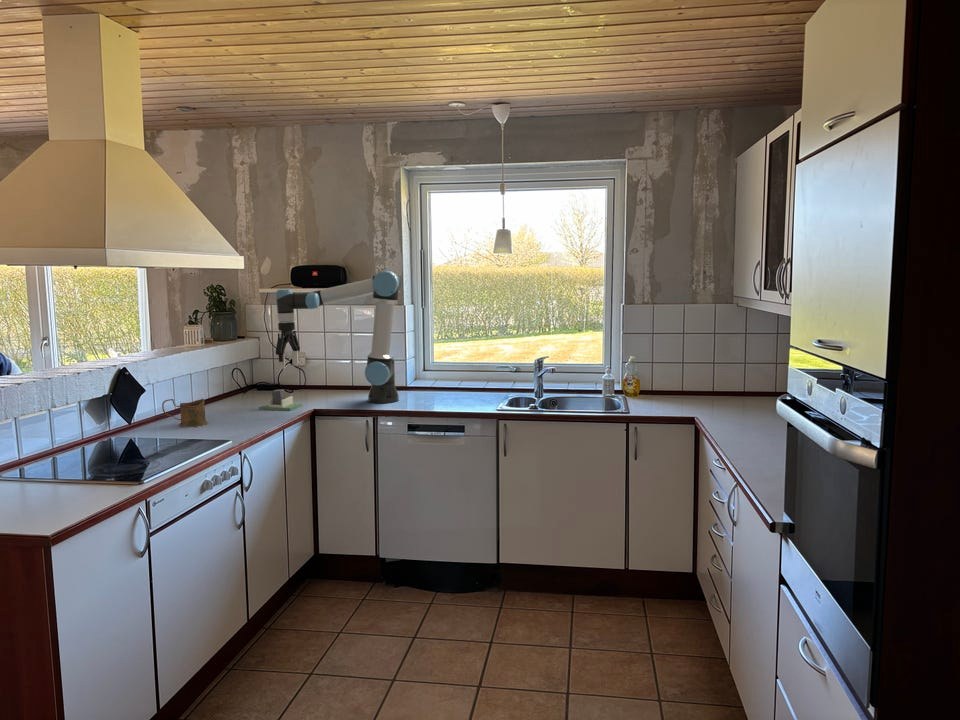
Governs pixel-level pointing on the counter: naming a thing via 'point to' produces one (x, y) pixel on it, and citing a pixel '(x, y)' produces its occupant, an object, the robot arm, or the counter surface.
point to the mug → (191, 413)
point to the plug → (278, 396)
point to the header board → (285, 405)
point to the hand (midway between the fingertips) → (289, 366)
